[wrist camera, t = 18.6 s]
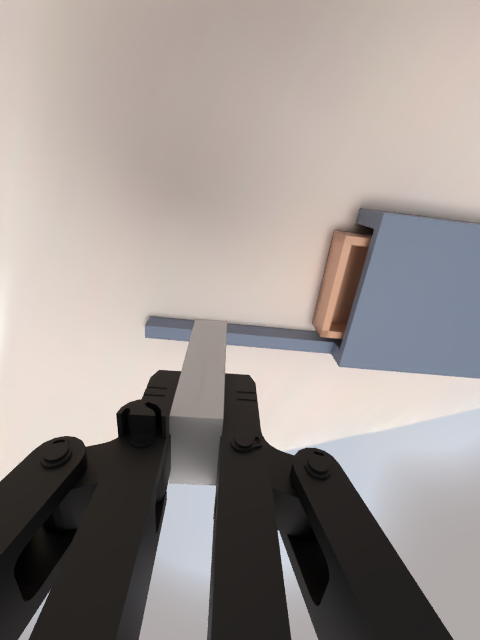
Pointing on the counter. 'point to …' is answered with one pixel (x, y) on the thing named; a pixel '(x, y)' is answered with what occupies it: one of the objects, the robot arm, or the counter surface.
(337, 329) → the dish
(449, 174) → the counter surface
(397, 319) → the blue-grey box with strip
